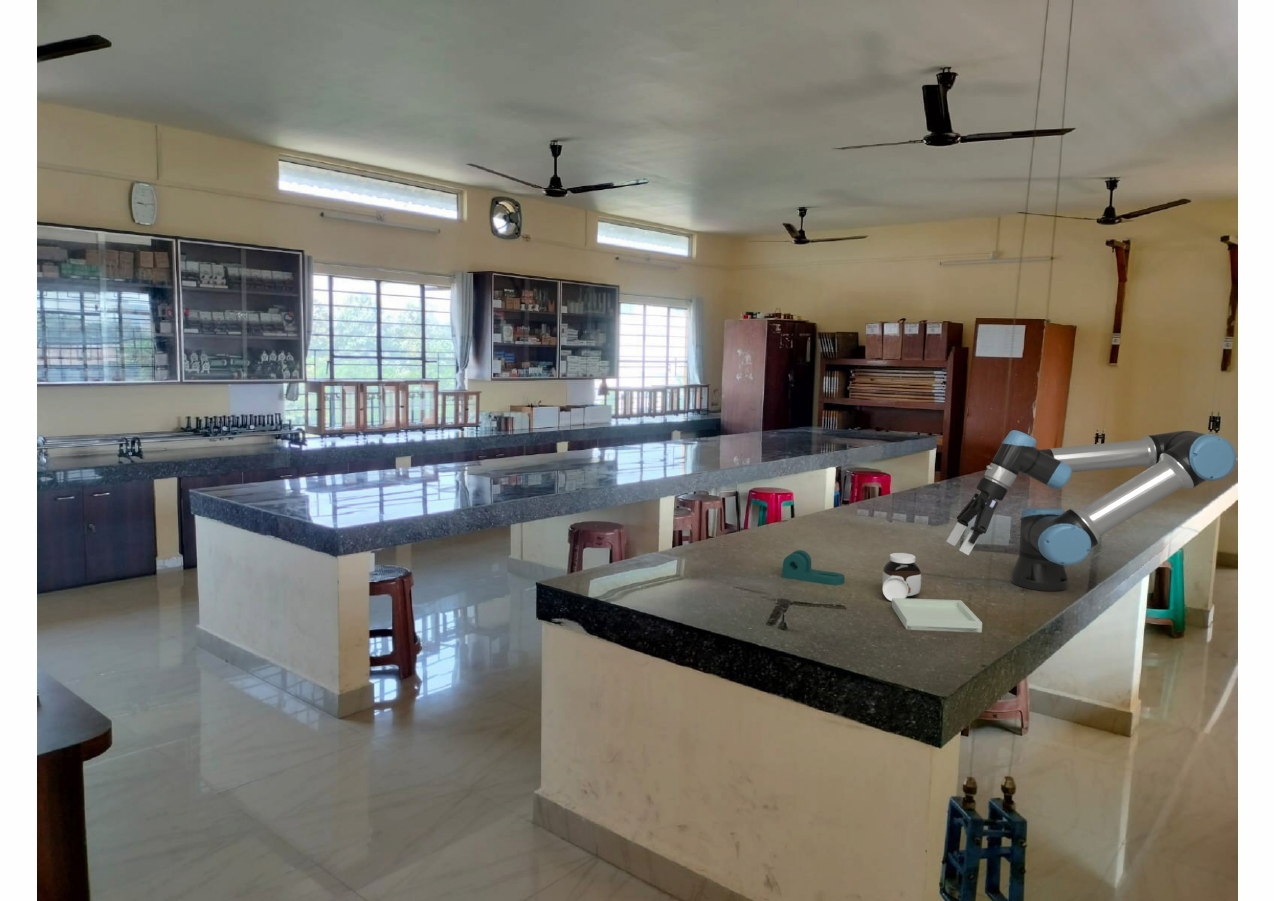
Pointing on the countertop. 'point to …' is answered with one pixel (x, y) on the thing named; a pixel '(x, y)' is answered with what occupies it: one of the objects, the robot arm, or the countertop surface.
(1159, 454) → the robot arm
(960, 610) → the tray
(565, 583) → the countertop surface
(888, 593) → the spread jar
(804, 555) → the bracket
